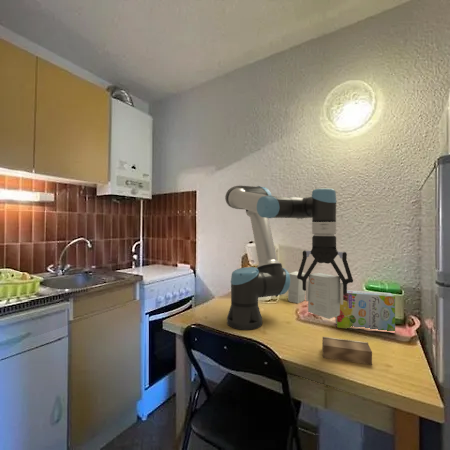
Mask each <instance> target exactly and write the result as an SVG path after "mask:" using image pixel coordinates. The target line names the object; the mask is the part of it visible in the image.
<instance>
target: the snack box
mask: <svg viewBox="0 0 450 450" xmlns="http://www.w3.org/2000/svg"><path fill="white" fill-rule="evenodd" d="M336 323H337V325H336V328H338V329H347V328H350V327H351V326H352V327H353V326H354V327H365V328H370V329H378V330H387V331H395V332H396V296H395V295H394V294H393V293H391V292H383V291H382V292H381V291H380V292H379V291H365V290H351V289H350V290H349V289H347V293H346V294H343V305H341V304H340V315H339V316H337V317H335V324H336ZM347 330H348V329H347Z"/></svg>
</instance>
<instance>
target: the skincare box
mask: <svg viewBox="0 0 450 450" xmlns="http://www.w3.org/2000/svg"><path fill="white" fill-rule="evenodd" d="M298 272H299V271H296V270H295V271H293V272H289V275H290V287H289V289H288V291H287V297H288V298H287V299H288V302H290V303H294V304H300V303H302V302H304V301H306V291H304V290H303V282H302V280H300V279H298V278H297V275H298ZM305 274H306V272H302V276H304V275H305Z"/></svg>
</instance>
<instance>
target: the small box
mask: <svg viewBox="0 0 450 450" xmlns="http://www.w3.org/2000/svg"><path fill="white" fill-rule="evenodd" d="M308 280H309V300H308V301H307V302H308V303H307V304H308V306H307V312H308V313H310V314H313V315H316V316H319V317H322V318H324V319H326V320H327V319H329V320H330V319H333V318H336V317H337V316H339V315H340V283H341V279H340V277H339V275H333V274H327V273H324V272H323V273H322V272H314V273H310V275H309V276H308Z"/></svg>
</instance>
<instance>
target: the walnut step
mask: <svg viewBox="0 0 450 450" xmlns="http://www.w3.org/2000/svg"><path fill="white" fill-rule="evenodd" d="M321 348H322V357H323V358H324V359H325V358H326V359H331V360H337V361H342V362H343V361H344V362H350V363H356V364H364V365H368V366H369V365H370V366H371V365H373V351H372V348H371V347H370V345H369V342H367V341H359V340H353V339H352V340H351V339H343V338H337V337H329V336H322V347H321Z"/></svg>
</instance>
